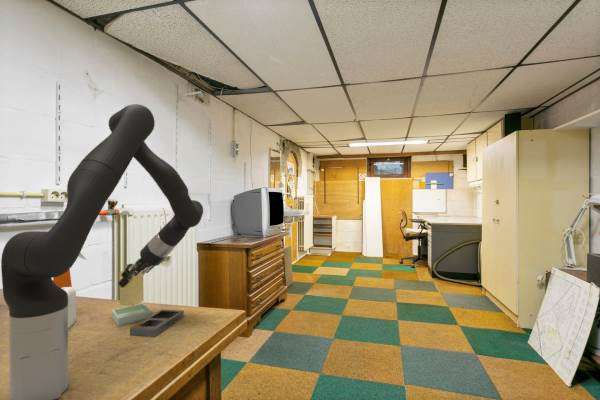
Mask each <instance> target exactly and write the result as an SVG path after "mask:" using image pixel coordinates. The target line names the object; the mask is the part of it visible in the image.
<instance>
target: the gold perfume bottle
mask: <svg viewBox="0 0 600 400" xmlns="http://www.w3.org/2000/svg"><path fill="white" fill-rule="evenodd" d="M129 264H130V263H128V264H126V265H125V266H126V268H127V266H128V265H129ZM131 264H132V265H134V264H135V263H131ZM126 268H125V269H126ZM123 272H124V270H121V271H119V281H120V280H121V279H122V278H123V277H122V276H121V275H122V273H123ZM136 273H137V271H136ZM132 275H133V274H132ZM144 294H145V293H144V275H143V271H142V272H141V273H140V274H139V275H138V276H134V277H133V278H132V279H131V280H130V281H129V282H128V283H127V284H126V285H125V287H123V288H122V287H121V286H120V285H119V306H127V307H128V306H134V305H138V304H141V303H142V302H144V297H145V296H144Z"/></svg>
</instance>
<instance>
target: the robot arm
mask: <svg viewBox="0 0 600 400" xmlns="http://www.w3.org/2000/svg"><path fill="white" fill-rule="evenodd" d="M155 122H156V121H155V117H154V115H153V113H152V111H151V110H150V108H148V107H147V106H145V105H142V104H139V103H138V104H137V103H134V104H128V105H127V106H124V107H123V108H121V109H120V110H118V111H116V112H115V113H113V114H112V115H111V116H110V118H109V120H108V127H109V130H110V132H111V133H110V134H109V135H108V136H107V137H105V138H104V140H102V141H101V142H99V143H98V144H97V145H96V146H95V147H94V148H93V149H92V150H90V151H89V153H87V155H86V156H84V158H83V159H82V160H80V162H79V164H78V165H77V166H76V167H75V169H74V170H73V171H72V173H71V174H70V176H69V178H68V181H67V186H66V188H67V189H66V195H67V196H66V198H67V199H66V206H65V209H64V211H63V212H62V214H61V215H60V217H59V219H58V220H57V222H55V224H54V225H53V226H52V227H51V228H50V229H49V230H48V231H42V230H41V231H37V230H35V231H32V230H31V231H23V232H18V233H17V234H15V235H13V236H12V237H11V238H9V239H8V241H7V242H6V243H5V245H4V247H3V249H2V254H1V260H0V261H1V262H0V263H1V269H0V270H1V282H2V296H3V300H4V302H5V303H6V305H7V308H8V313H9V314H8V317H9V318H8V320H9V322H8V323H9V324H8V325H9V331H8V338H9V339H8V340H9V341H8V343H9V345H8V348H9V351H8V353H9V357H8V359H9V366H8V367H9V368H8V369H9V400H57V399H60V398H61V397H62V395H63V393H64V392H65V391H66V390H67V389H68V387H69V328H68V294H67V292H66V291H65V290H63V289H61V288H60V287H58V286H57V285H56V284H55V283H54V282H53V277H58V276H60V275H62V274H64V273H65V272H67V271H68V270H69V269H72V266H73V265H74V264H75V262H76V261H77V259H78V258H79V254H80V253H82V252H81V251H82V249H83V247H84V245H85V243H86V240H87V238H88V236H89V235H90V232H91V231H92V228H93V226H94V224H95V222H96V221H97V219H98V217H99V215H100V213H101V212H102V209H103V208H104V206H105V204H106V203H107V201H108V200H109V198H110V196H111V195H112V194H113V192H114V191H115V189H116V187H117V186H118V184H119V182H120V181H121V179H122V177H123V175H124V174H125V172H126V170H127V168H128V167H129V166H130V164H131V162H132V160H133V158H134V159H135V160H136V161H137V163H139V164H140V166H141V167H142V168H143V169H144V170H145V171H146V172H147V173H148V175H149V176H150V177H151V179H153V181H154V182H155V183H156V185H157V187H158V188H159V190H160V191H161V192H162V194H163V196H164V197H165V198H166V199H167V201H168V203H169V206H170V208H171V210H172V212H173V213H174V215H173V216H172V218H171V219H170V220H169V221H168V222H167V223H166V224H165V225H164V226H162V228H161V229H160V230H159V232H157V233H156V234H155V235H154V236H153V237H152V238H151V239H150V240H149V241H148V242H147V243H146V244H145V246H144V247H142V249H141V250H140V252H139V255H140V258H137V259H136V261H135V262H134V263H128V264H129V265H128V266H127V268H125V269H124V270H123V271H124V272H123V273H122V275H121V276H122V277H123V278H122V279H121V280H120V279H119V281H118V283H117V284H118V285H119V287H120V286H121V287H122V288H123V287H125V285H126V284H127V283H128V282H129V281H130V280H131V279H132V278H133V277H134V276H138V275H139V274H140V273H141V272H142V271H143V276H145V274H148V273H149V272H150V271H152V270H153V268H154V267H156V266H159V265H161V263H163V262H164V261H165V259H166V258H167V257H168V256H169V255H170V254H171V253H172V252H173V250H174V249H175V248H176V246H177V245H178V244H179V243H180V242H181V241H182V240H183V239H184V237H185V236H186V234H187V233H188V231H189V229H190V228H194V227H196V226H197V225H199V223H200V222H201V220H202V217H203V214H204V206H203V205H202V203H201V202H200V201H198V200H195V199H191V197H190V194H189V189H188V186H187V185H186V183H185V182H184V180H183V179H182V177H181V176H180V174H179V173H178V171H177V170H176V169H175V168H174V167H173V166H172V165H171V164H169V163H168V162H167V161H165V160H164V159H162V158H161V157H160V156H158V154H156V153H155V152H154V151H153V150H151V148H150V147H149V146H148V145H147V143H146V140H147V139H148V138H149V136H151V134H152V132H153V131H154V129H155V125H156V124H155ZM132 264H134V265H132ZM136 271H137V273H136ZM132 274H133V275H132Z"/></svg>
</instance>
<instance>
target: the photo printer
mask: <svg viewBox="0 0 600 400" xmlns="http://www.w3.org/2000/svg"><path fill="white" fill-rule="evenodd" d="M61 289H63V290H65V291H66V292H67V294H68V329H70V328H71V327H72V326H73V325H74V323H75V322H76V320H77V292H76V289H75V288H74V287H73V286H72V287H63V288H61Z"/></svg>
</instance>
